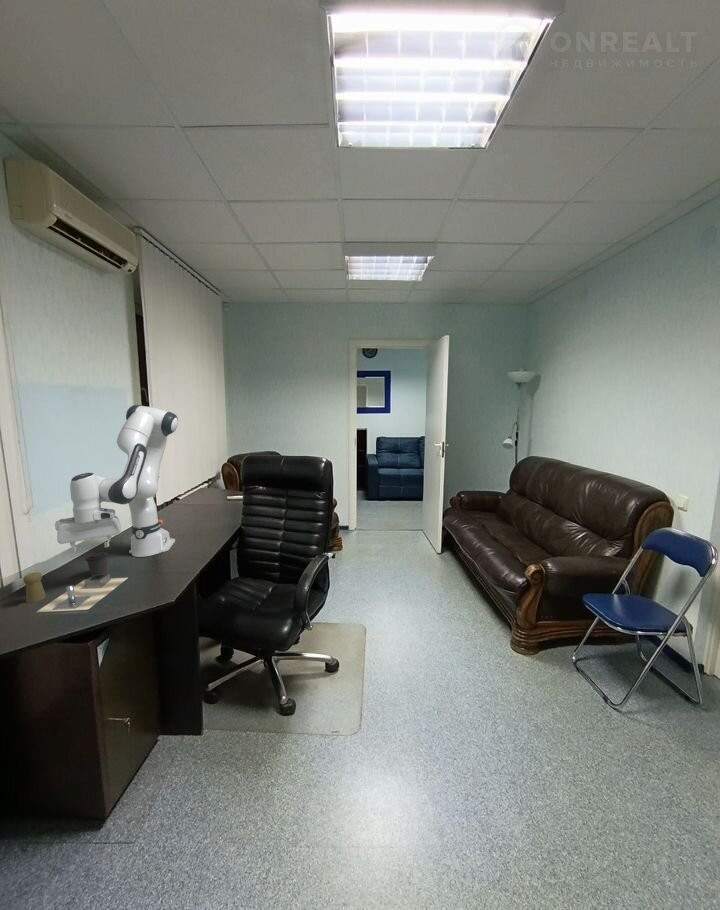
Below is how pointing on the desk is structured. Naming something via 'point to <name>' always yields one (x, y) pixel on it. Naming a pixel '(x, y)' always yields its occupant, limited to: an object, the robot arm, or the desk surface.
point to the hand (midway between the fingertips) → (92, 549)
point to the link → (97, 581)
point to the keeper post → (71, 600)
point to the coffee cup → (97, 563)
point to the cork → (34, 587)
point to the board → (81, 591)
